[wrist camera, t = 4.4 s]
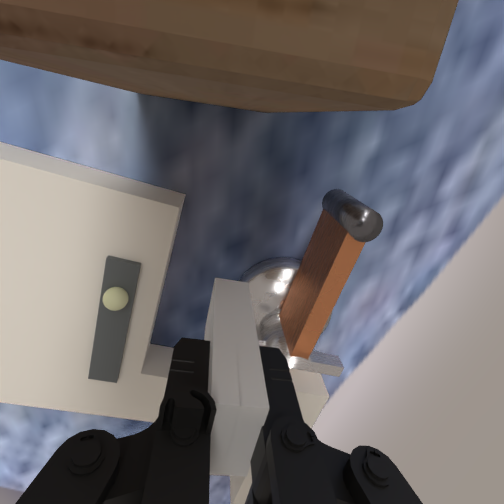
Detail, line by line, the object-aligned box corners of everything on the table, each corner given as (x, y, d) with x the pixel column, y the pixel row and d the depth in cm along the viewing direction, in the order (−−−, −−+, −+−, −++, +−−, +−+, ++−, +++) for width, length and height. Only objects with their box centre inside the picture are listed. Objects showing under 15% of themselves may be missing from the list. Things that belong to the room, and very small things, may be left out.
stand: (-34, 132, 22) (-259, 148, 12) (365, 245, 29) (446, 319, 19) (-27, 360, 30) (-157, 490, 20) (284, 408, 37) (309, 524, 27)
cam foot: (300, 355, 34) (326, 433, 25) (214, 339, 32) (212, 418, 24) (376, 196, 27) (444, 233, 19) (273, 163, 25) (299, 188, 17)
